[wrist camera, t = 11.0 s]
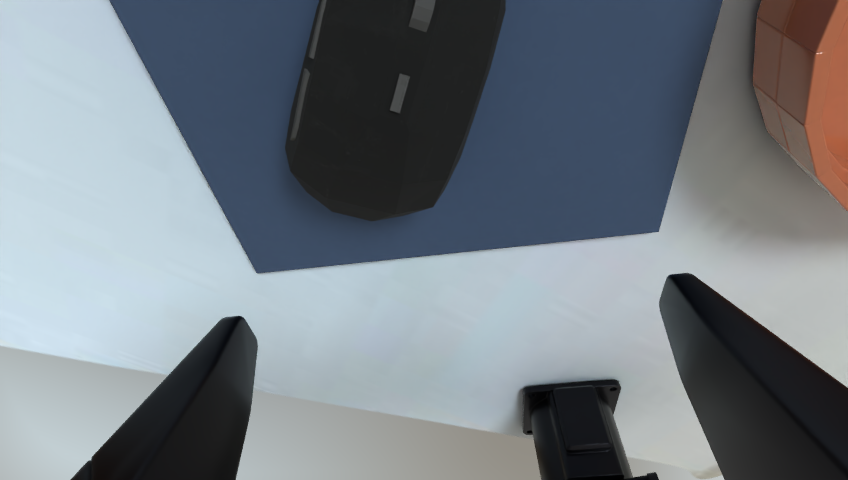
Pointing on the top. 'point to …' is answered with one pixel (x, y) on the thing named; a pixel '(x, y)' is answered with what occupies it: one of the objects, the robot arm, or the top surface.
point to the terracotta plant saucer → (806, 85)
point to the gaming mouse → (388, 101)
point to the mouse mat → (487, 140)
